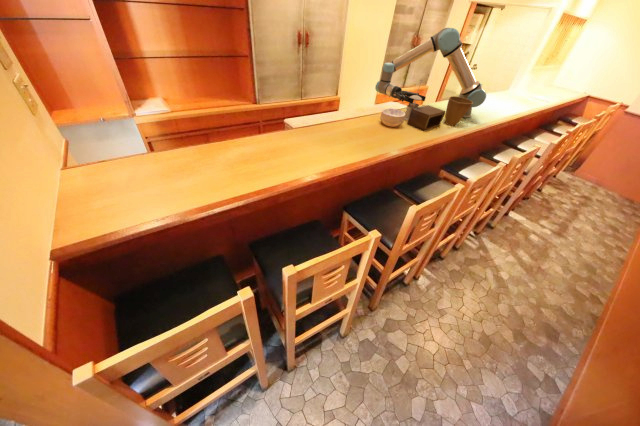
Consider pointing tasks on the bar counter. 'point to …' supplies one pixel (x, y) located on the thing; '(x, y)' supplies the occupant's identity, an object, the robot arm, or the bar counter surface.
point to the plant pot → (456, 109)
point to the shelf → (425, 117)
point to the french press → (412, 105)
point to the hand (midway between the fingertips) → (419, 100)
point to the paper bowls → (392, 117)
